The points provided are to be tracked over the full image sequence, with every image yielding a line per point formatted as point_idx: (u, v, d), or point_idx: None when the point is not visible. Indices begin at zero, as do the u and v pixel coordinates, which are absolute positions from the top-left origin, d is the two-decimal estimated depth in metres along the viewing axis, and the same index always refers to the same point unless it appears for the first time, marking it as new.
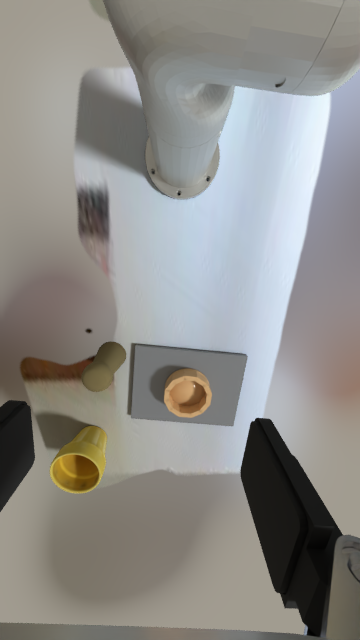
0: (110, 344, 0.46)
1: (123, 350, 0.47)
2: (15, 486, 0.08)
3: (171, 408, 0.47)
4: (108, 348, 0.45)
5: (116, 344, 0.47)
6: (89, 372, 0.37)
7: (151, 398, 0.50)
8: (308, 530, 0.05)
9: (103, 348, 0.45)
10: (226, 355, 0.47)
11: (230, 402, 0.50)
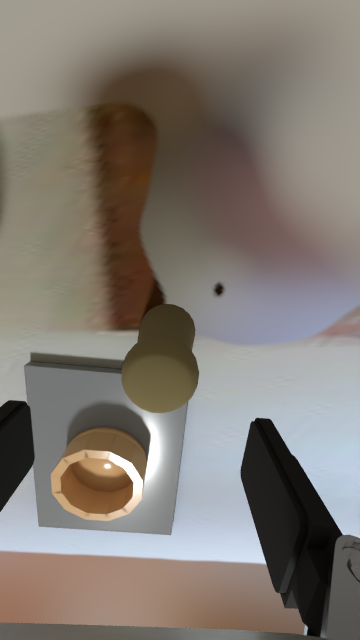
0: None
1: None
2: (15, 486, 0.08)
3: (68, 462, 0.23)
4: None
5: None
6: (184, 375, 0.13)
7: (78, 404, 0.25)
8: (308, 530, 0.05)
9: (192, 330, 0.21)
10: (172, 510, 0.29)
11: (86, 520, 0.30)
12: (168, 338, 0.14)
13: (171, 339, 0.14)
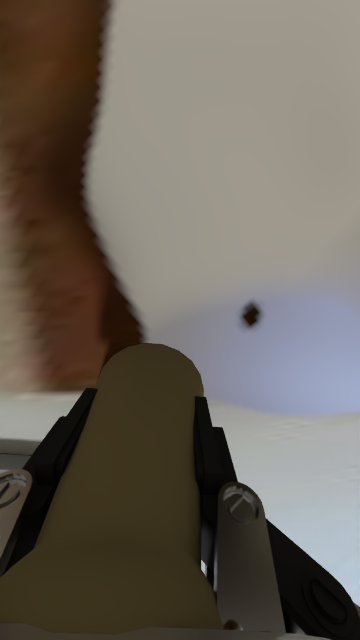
0: None
1: None
2: None
3: None
4: None
5: None
6: None
7: None
8: (203, 478, 0.07)
9: None
10: None
11: None
12: (111, 628, 0.03)
13: None
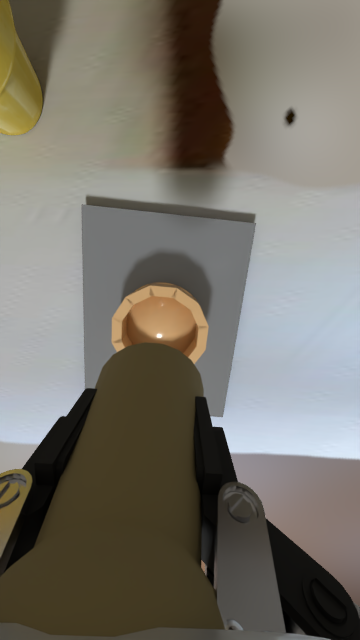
0: None
1: None
2: None
3: (131, 301, 0.22)
4: None
5: None
6: None
7: (136, 254, 0.24)
8: (203, 478, 0.07)
9: None
10: (225, 386, 0.28)
11: None
12: (110, 627, 0.03)
13: (125, 631, 0.03)
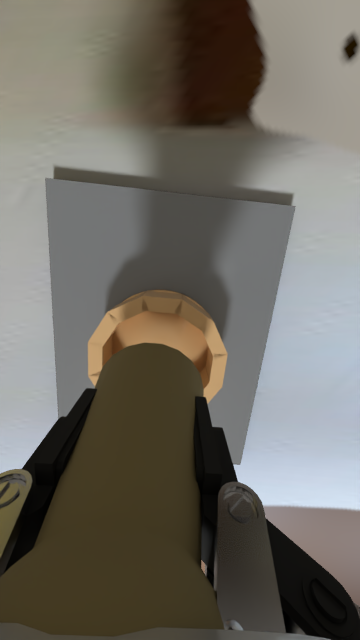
0: None
1: None
2: None
3: (116, 319, 0.15)
4: None
5: None
6: None
7: (124, 250, 0.17)
8: (203, 478, 0.07)
9: None
10: (245, 427, 0.21)
11: None
12: (110, 628, 0.03)
13: (125, 633, 0.03)
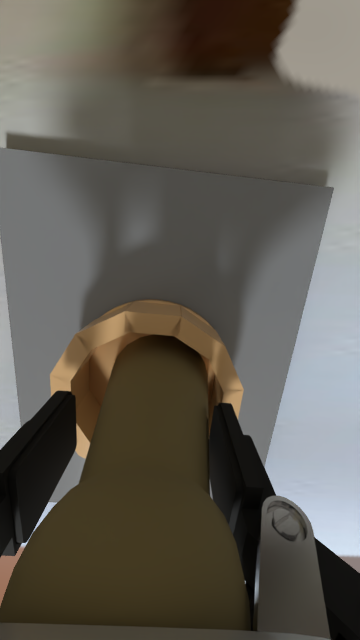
0: None
1: None
2: (64, 467, 0.09)
3: (88, 344, 0.11)
4: None
5: None
6: None
7: (103, 247, 0.13)
8: (242, 492, 0.06)
9: (205, 389, 0.11)
10: None
11: None
12: (154, 512, 0.04)
13: (164, 516, 0.04)
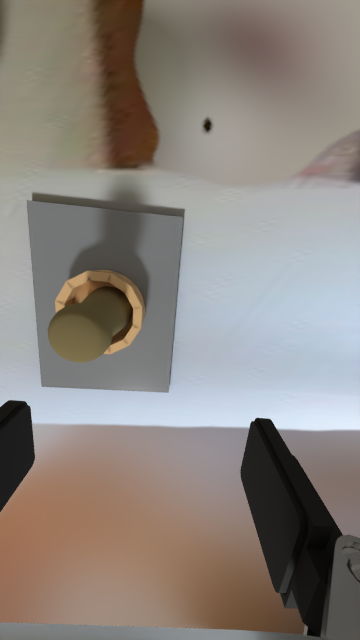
0: (129, 312, 0.27)
1: None
2: (15, 486, 0.08)
3: (71, 285, 0.25)
4: (126, 316, 0.26)
5: (129, 320, 0.28)
6: (94, 330, 0.18)
7: (78, 244, 0.27)
8: (308, 530, 0.05)
9: (124, 306, 0.26)
10: (169, 364, 0.32)
11: (87, 378, 0.31)
12: (85, 304, 0.19)
13: (87, 305, 0.19)
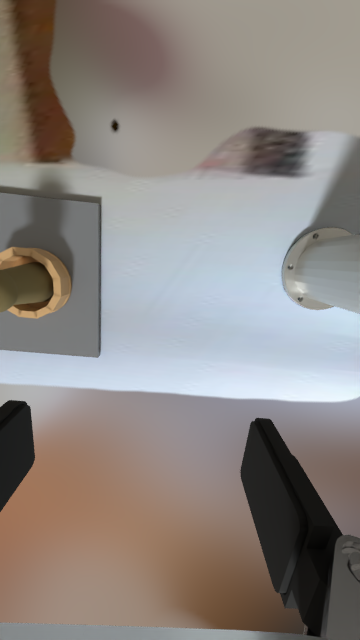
0: None
1: (48, 300, 0.34)
2: (15, 486, 0.08)
3: (0, 259, 0.30)
4: (47, 285, 0.31)
5: None
6: None
7: (12, 226, 0.32)
8: (308, 530, 0.05)
9: (45, 277, 0.31)
10: (96, 332, 0.37)
11: (27, 342, 0.37)
12: None
13: None
